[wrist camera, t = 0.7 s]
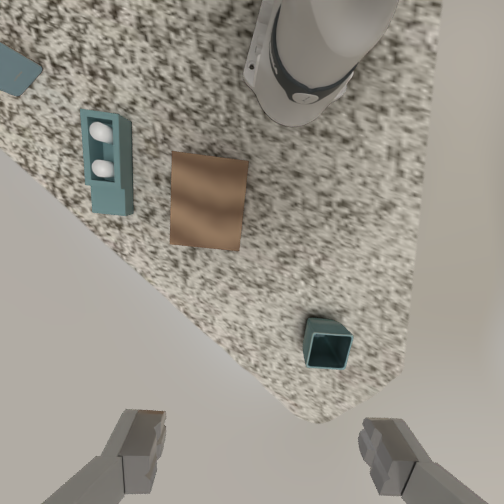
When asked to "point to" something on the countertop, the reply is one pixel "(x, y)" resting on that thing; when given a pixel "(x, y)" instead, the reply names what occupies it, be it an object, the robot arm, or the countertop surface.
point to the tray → (122, 160)
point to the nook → (207, 201)
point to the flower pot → (326, 344)
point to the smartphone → (16, 70)
